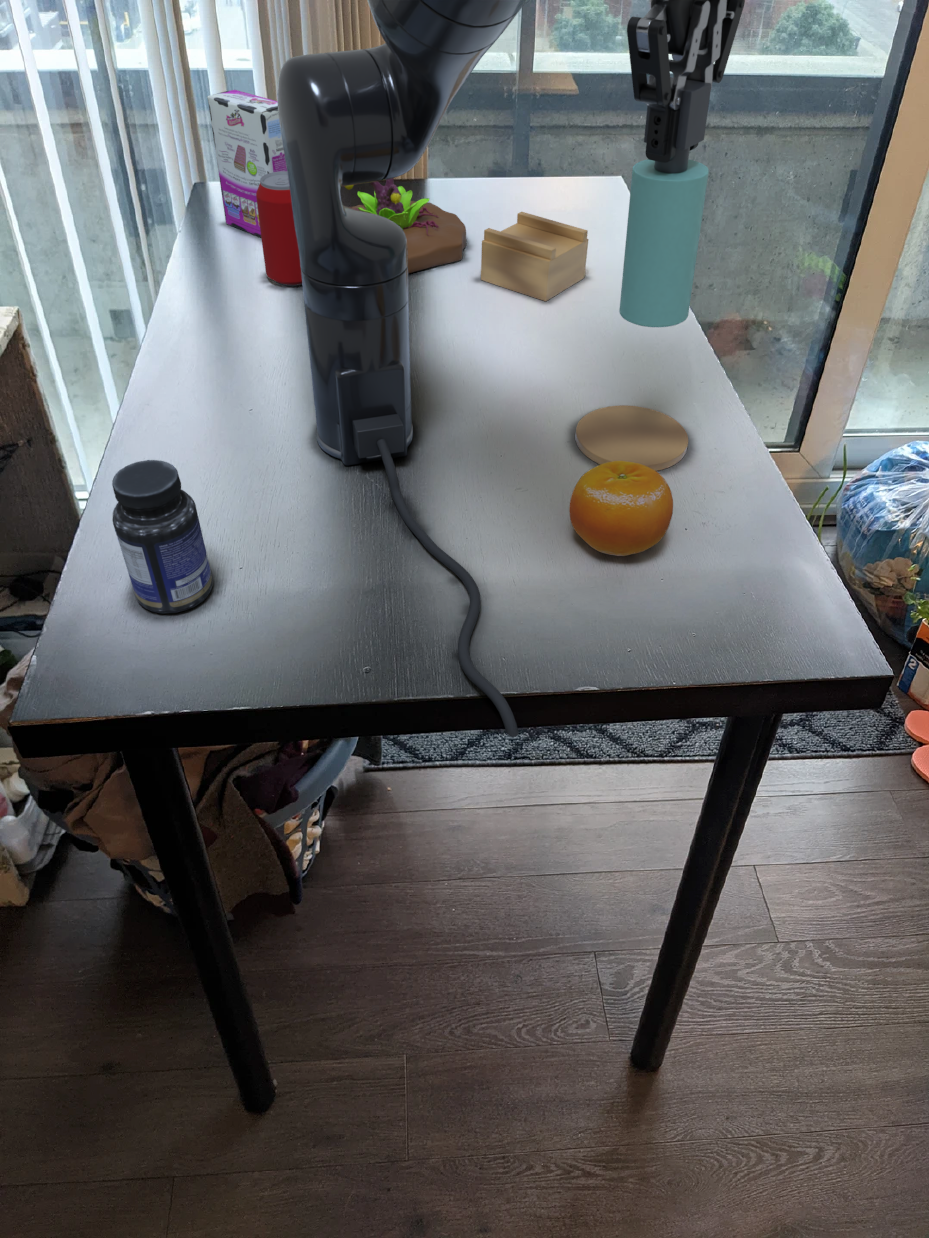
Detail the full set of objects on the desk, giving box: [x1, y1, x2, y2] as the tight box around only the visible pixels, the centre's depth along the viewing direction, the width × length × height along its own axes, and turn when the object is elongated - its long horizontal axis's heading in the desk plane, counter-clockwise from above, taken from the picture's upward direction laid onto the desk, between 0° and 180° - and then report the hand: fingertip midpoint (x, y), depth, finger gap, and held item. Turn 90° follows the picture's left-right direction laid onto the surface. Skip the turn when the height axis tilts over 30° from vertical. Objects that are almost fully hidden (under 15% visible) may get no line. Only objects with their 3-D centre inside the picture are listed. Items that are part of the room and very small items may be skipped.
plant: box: [343, 178, 467, 274], centre depth 125 cm, size 20×20×11 cm
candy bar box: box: [206, 89, 287, 238], centre depth 126 cm, size 11×5×16 cm, turn 49°
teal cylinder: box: [618, 76, 712, 328], centre depth 78 cm, size 18×6×6 cm
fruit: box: [568, 461, 674, 557], centre depth 80 cm, size 8×8×8 cm
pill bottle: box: [111, 459, 214, 614], centre depth 73 cm, size 6×6×11 cm
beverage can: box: [256, 171, 302, 287], centre depth 116 cm, size 7×7×12 cm
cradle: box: [480, 211, 589, 302], centre depth 119 cm, size 10×9×6 cm
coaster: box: [574, 404, 689, 472], centre depth 94 cm, size 11×11×1 cm
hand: (671, 153), depth 75 cm, fingers closed on teal cylinder, 3 cm apart
